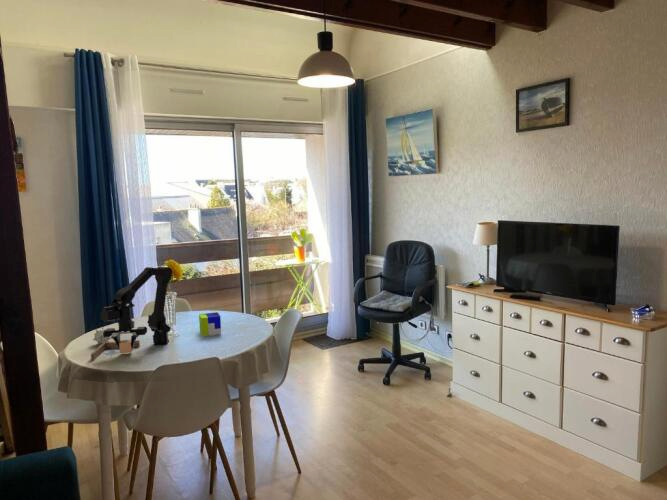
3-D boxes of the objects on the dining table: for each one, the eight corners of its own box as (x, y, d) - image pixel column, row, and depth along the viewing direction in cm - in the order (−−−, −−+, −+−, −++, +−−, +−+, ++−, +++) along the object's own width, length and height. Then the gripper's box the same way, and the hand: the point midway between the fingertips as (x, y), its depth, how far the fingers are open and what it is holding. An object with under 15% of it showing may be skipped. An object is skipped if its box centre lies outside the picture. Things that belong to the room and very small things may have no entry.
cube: (133, 349, 241) (132, 339, 241) (130, 352, 236) (130, 342, 236) (122, 350, 240) (122, 340, 240) (119, 353, 236) (119, 343, 235)
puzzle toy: (221, 334, 270) (220, 316, 269) (202, 336, 267) (201, 318, 265) (218, 329, 279) (217, 312, 278) (200, 331, 276) (199, 314, 275)
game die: (100, 352, 254) (86, 339, 249) (102, 341, 262) (89, 329, 256) (115, 343, 254) (102, 330, 249) (117, 333, 262) (104, 320, 256)
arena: (139, 346, 251) (139, 340, 251) (130, 358, 233) (129, 351, 232) (103, 348, 248) (103, 342, 248) (91, 360, 230) (90, 354, 230)
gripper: (148, 312, 246) (150, 343, 247) (109, 314, 243) (111, 345, 245) (143, 317, 235) (145, 350, 236) (101, 319, 232) (104, 352, 234)
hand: (126, 349), depth 238 cm, fingers closed on cube, 5 cm apart
